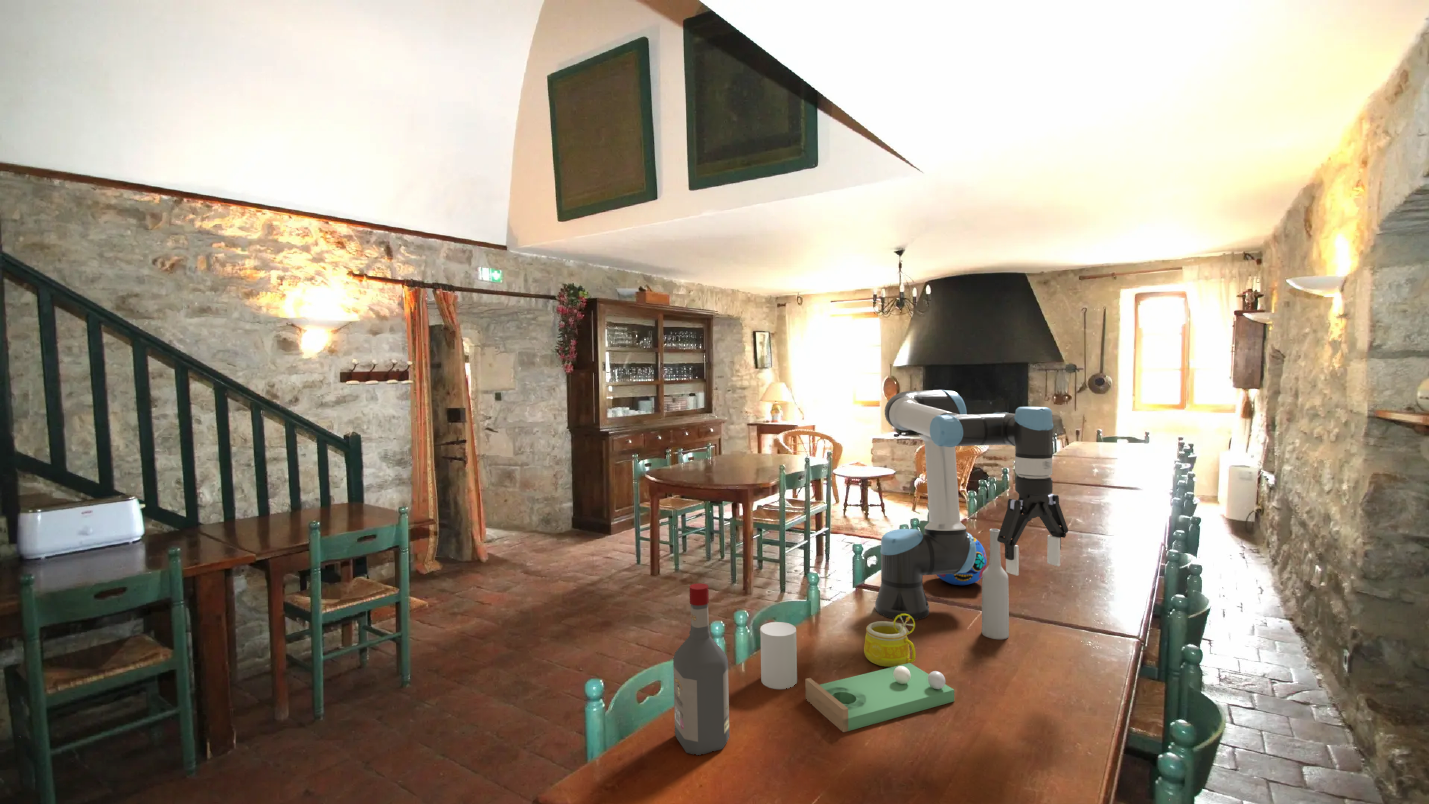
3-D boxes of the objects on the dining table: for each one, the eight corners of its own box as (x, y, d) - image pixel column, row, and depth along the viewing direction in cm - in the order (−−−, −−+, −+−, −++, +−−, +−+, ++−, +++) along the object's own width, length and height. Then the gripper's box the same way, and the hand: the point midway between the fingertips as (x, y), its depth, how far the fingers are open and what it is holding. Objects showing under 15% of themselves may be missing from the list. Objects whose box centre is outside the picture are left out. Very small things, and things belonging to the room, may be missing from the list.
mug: (855, 661, 154) (854, 612, 154) (877, 647, 162) (877, 600, 162) (904, 677, 146) (904, 626, 145) (925, 661, 154) (925, 612, 153)
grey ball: (923, 686, 136) (923, 670, 136) (937, 683, 138) (937, 666, 137) (935, 694, 133) (935, 677, 133) (949, 690, 134) (949, 673, 134)
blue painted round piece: (935, 591, 203) (935, 544, 202) (926, 573, 220) (926, 531, 220) (993, 593, 200) (993, 545, 199) (979, 575, 218) (979, 532, 217)
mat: (805, 699, 137) (805, 678, 136) (909, 673, 148) (909, 654, 147) (843, 732, 124) (842, 709, 124) (954, 701, 135) (954, 680, 134)
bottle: (1002, 641, 164) (1001, 534, 163) (977, 634, 169) (976, 529, 168) (1013, 634, 168) (1013, 529, 167) (988, 627, 173) (988, 525, 172)
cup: (800, 674, 148) (799, 624, 147) (792, 691, 140) (792, 638, 140) (766, 670, 151) (765, 620, 150) (757, 686, 143) (756, 633, 142)
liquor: (688, 759, 116) (685, 597, 115) (671, 734, 124) (668, 582, 123) (733, 747, 120) (730, 589, 118) (714, 723, 128) (711, 576, 127)
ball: (889, 681, 139) (889, 665, 139) (903, 677, 140) (903, 661, 140) (900, 688, 136) (900, 671, 135) (914, 685, 137) (914, 668, 137)
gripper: (1008, 483, 134) (1008, 582, 135) (1085, 473, 145) (1085, 565, 145) (979, 478, 141) (980, 572, 142) (1055, 469, 151) (1055, 557, 152)
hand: (1033, 569), depth 143 cm, fingers open, 13 cm apart
